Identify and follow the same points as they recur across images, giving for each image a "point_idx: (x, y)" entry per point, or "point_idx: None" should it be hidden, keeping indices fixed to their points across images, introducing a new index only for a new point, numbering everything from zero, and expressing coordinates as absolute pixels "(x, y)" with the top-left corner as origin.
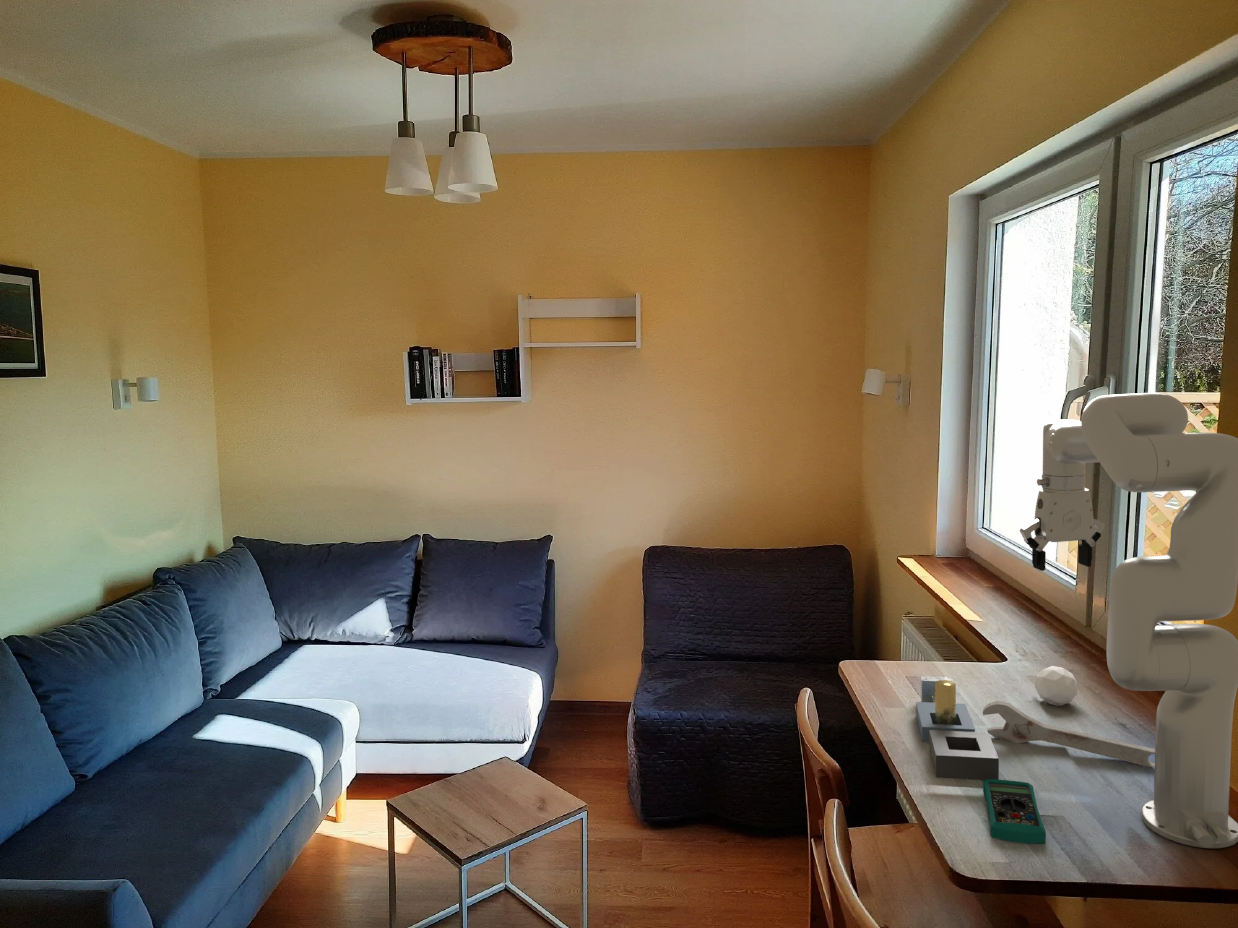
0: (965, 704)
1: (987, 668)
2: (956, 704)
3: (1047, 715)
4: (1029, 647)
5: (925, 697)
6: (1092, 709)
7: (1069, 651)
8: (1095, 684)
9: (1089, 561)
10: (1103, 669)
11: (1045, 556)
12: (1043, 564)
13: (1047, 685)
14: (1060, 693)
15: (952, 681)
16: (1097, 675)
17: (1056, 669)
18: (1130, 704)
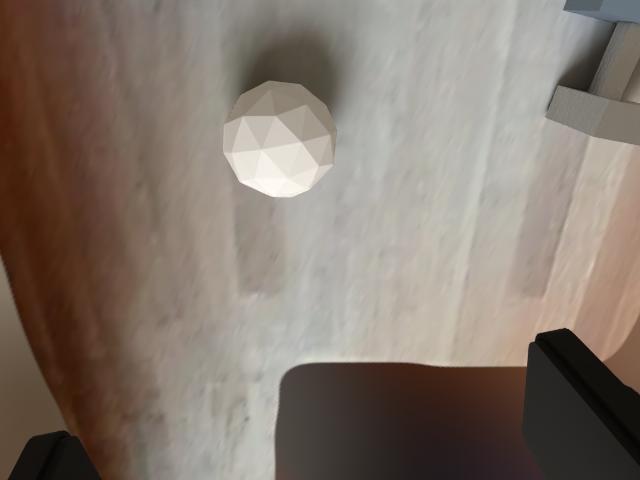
0: (601, 6)
1: (350, 333)
2: (624, 8)
3: (334, 45)
4: (210, 437)
5: (637, 103)
6: (198, 77)
7: (127, 420)
8: (131, 239)
9: (29, 476)
10: (79, 326)
11: (634, 454)
12: (593, 368)
13: (323, 107)
14: (291, 83)
15: (610, 101)
16: (107, 292)
17: (288, 144)
18: (79, 105)
